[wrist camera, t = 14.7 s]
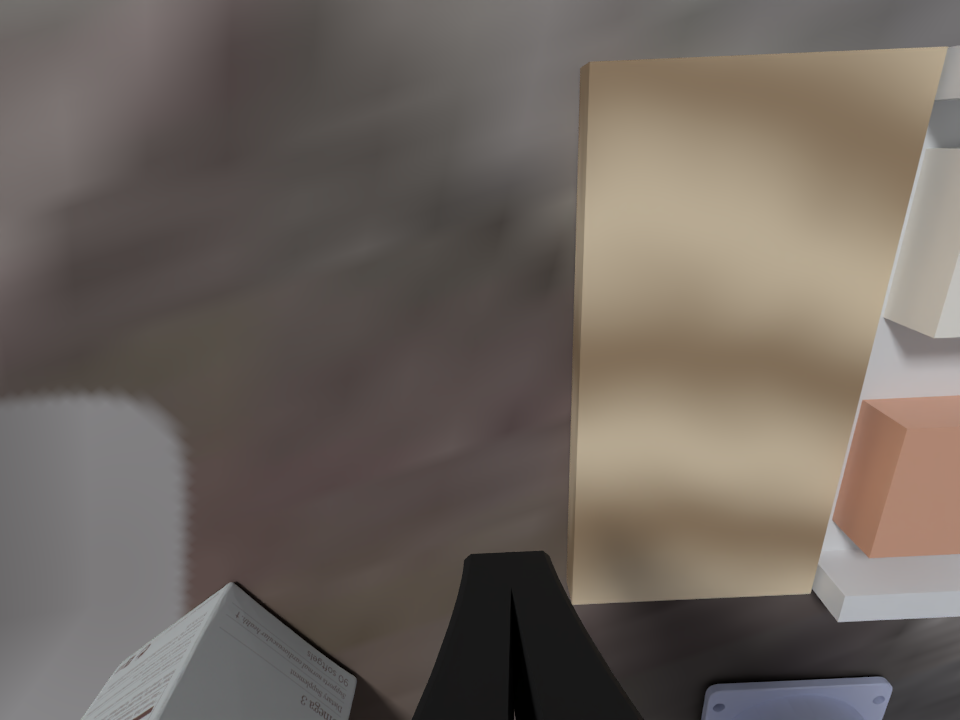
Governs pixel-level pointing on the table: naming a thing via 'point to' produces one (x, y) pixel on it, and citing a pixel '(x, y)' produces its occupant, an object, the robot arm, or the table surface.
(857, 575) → the grey tray
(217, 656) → the supplement box
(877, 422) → the terracotta tile
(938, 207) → the cream tile
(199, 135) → the table surface
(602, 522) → the oak board
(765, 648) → the table surface
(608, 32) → the table surface
